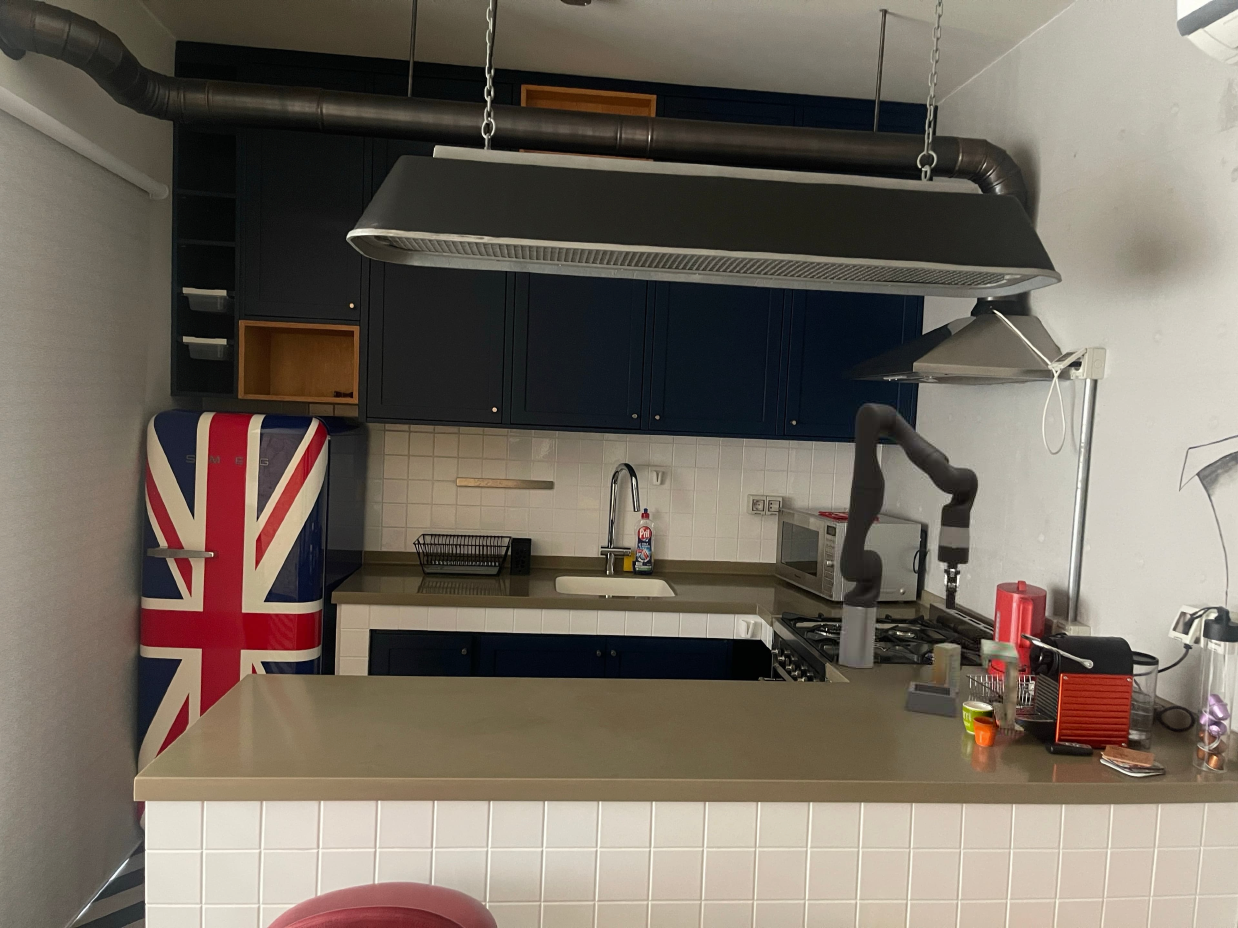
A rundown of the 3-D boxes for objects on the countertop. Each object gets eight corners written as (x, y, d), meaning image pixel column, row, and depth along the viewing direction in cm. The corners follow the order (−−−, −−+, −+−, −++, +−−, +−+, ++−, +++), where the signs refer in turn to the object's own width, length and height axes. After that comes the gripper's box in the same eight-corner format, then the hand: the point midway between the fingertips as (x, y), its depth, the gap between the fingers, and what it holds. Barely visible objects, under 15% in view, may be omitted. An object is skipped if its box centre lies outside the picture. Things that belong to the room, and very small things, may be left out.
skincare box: (943, 688, 227) (946, 642, 227) (959, 692, 224) (962, 645, 224) (930, 691, 223) (932, 644, 223) (945, 695, 220) (948, 647, 220)
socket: (907, 709, 204) (908, 690, 204) (909, 699, 214) (910, 681, 214) (954, 717, 200) (955, 697, 200) (954, 706, 210) (955, 687, 210)
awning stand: (979, 724, 196) (984, 652, 196) (977, 704, 213) (981, 639, 213) (1025, 731, 192) (1030, 658, 192) (1019, 710, 209) (1023, 644, 209)
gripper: (938, 541, 231) (934, 601, 232) (938, 545, 218) (934, 609, 218) (968, 543, 229) (964, 604, 229) (970, 547, 216) (966, 612, 216)
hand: (949, 606), depth 224 cm, fingers open, 8 cm apart
